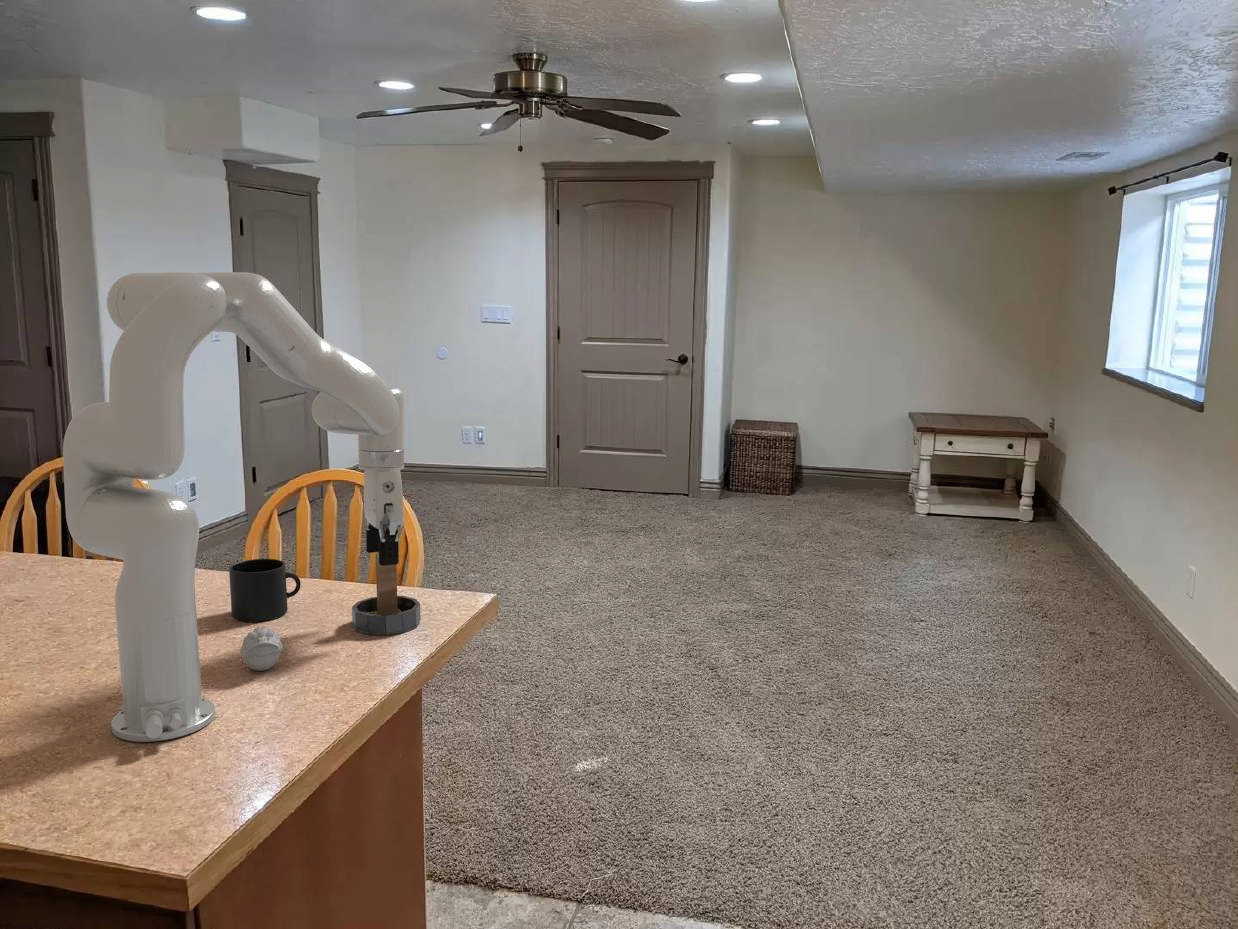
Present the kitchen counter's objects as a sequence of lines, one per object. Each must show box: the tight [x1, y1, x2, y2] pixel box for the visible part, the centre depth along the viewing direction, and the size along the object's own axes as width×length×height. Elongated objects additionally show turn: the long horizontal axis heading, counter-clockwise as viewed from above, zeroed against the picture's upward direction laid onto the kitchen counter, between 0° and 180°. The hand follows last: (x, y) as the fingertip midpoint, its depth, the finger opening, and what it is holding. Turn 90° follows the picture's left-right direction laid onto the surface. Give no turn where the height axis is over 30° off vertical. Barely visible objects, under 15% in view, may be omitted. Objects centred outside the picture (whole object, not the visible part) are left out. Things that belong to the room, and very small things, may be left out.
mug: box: [228, 558, 302, 623], centre depth 174 cm, size 9×12×9 cm
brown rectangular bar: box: [375, 553, 398, 615], centre depth 169 cm, size 2×3×12 cm
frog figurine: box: [239, 626, 283, 672], centre depth 148 cm, size 6×7×7 cm
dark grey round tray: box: [351, 595, 421, 637], centre depth 170 cm, size 11×11×4 cm
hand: (382, 558), depth 167 cm, fingers open, 9 cm apart
